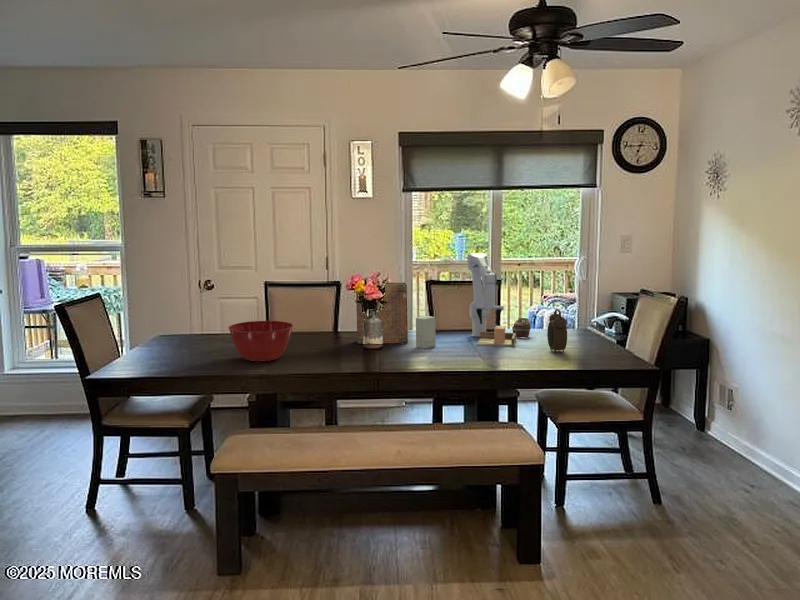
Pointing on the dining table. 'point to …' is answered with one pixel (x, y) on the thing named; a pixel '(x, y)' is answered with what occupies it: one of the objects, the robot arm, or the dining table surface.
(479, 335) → the robot arm
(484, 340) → the wooden tray
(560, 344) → the brown backpack
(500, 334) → the block
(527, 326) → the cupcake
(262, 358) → the mixing bowl
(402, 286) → the brown upright rectangular box
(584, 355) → the dining table surface
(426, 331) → the skincare box
